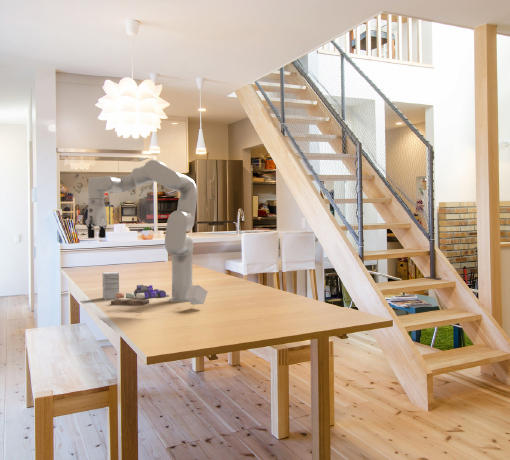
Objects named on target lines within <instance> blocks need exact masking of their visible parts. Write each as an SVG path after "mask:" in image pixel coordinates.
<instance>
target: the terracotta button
mask: <svg viewBox="0 0 510 460" xmlns="http://www.w3.org/2000/svg"><path fill="white" fill-rule="evenodd" d="M116 298H119V299H124V298H125V292H119V293H116Z"/></svg>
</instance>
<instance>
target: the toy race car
mask: <svg viewBox="0 0 510 460" xmlns="http://www.w3.org/2000/svg"><path fill="white" fill-rule="evenodd" d="M133 293H134V298H136V294H137V293H144V297H145V298H142V299H141V300H149V299H158V298H166V297H167V298H168V297H169V296H170V295H169V294H167V292H166V291H165V290H164V289H158V288H157V289H156V288H155V289H154V287H153V285H152V284H149V285H144V284H137V285H136V289H134V291H133Z"/></svg>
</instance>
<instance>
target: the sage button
mask: <svg viewBox="0 0 510 460" xmlns="http://www.w3.org/2000/svg"><path fill="white" fill-rule="evenodd" d="M125 299H135V296H134V292H126V293H125Z"/></svg>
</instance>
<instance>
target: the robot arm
mask: <svg viewBox="0 0 510 460" xmlns="http://www.w3.org/2000/svg"><path fill="white" fill-rule="evenodd" d="M87 181H88V182H87V187H88V190H87V192H88V193H87V195H88V204H87V205H88V207H87V208H88V209H87V219H85V220H84V221H85V224H86V225H85V226H86V229H87V238H88V239H94V238H95V228H96V227H98V228H99V232H98V238H100V239H105V238H106V229H107V225H108V220H107V209H106V205H105V202H106V201H105V200H106V199H105V198H106V197H105V192H107V193H113V194H120V193H124V192H128V191H131V190H135V189H136V188H139V187H141V186H144V185H147V184H150V183H157V184H159V185H161V186H162V187H165V188H166V189H168V190H170V191H174V192H178V193H179V194H180V195H179V198H178V202H177V209H176V210H174V211H173V212H171V213H170V214H169V216H168V218H167V222H166V228H165V236H164V237H165V238H164V249H165V250H166V252H167V253H168V254H170V255H172V256H171V257H172V259H171V288H172V289H171V294H172V295H171V298H169V299H168V301H169V302H173V303H186V302H189V301H188V300H186V299H185V297H186V294H187V291H188V288H189V286H193V258H194V257H193V254H194V242H193V238H192V237H191V236H189V235H188V234H187V232H188V231H191V230H192V228H193V227H194V225H195V220H196V219H195V217H196V210H197V202H198V201H197V200H198V192H199V191H198V187H197V185H196V183H195V181H194V179H192V178H191V177H189V176H188V175H186V174H183V173H180V172H178V171H175V170H173V169H171V168H169V167H168V165H167V164H165V163H164V162H162V161H161V160H157V159H150V160H148V161H147V162H145V164H144V165H143V166H140V167H135V168H133V169H132V172H131V173H130V174H128V175H127V174H126V176H125V175H124V176H120V177H114V176H110V175H107V176H106V175H105V176H100V177H97V176H96V177H93V176H92V177H89V178H88V180H87Z"/></svg>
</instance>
